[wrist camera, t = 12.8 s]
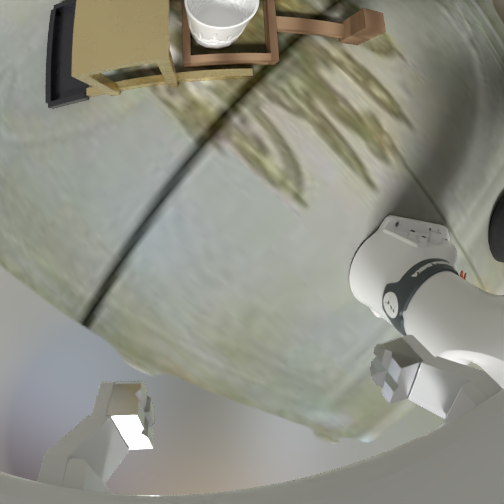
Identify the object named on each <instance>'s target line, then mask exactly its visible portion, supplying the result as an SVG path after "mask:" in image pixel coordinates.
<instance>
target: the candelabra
mask: <svg viewBox="0 0 504 504" xmlns="http://www.w3.org/2000/svg"><path fill="white" fill-rule="evenodd" d="M489 245H490V250H491V253H492V255H493V257H494V259H495V260H497V261H499V262H504V197H503V198H502V199H501V201H500V202H499V203H498V205H497V207H496V209H495V210H494V213H493V217H492V219H491V224H490V229H489Z"/></svg>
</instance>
